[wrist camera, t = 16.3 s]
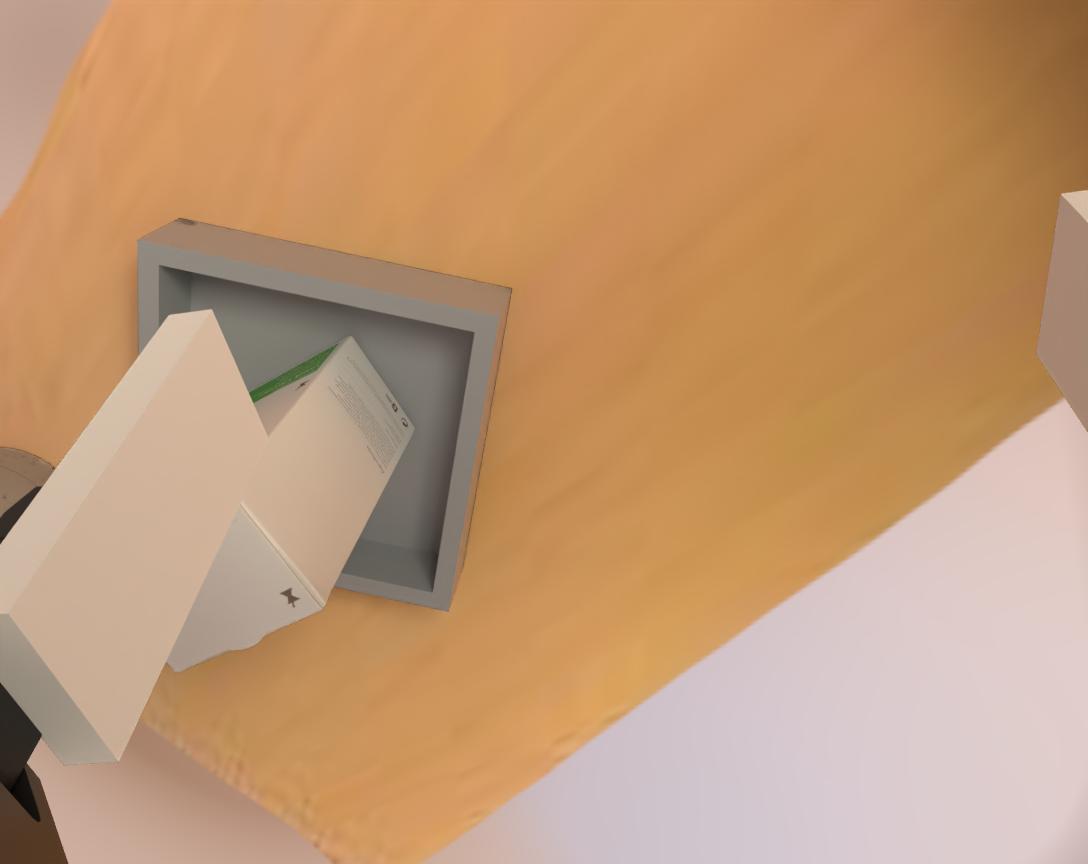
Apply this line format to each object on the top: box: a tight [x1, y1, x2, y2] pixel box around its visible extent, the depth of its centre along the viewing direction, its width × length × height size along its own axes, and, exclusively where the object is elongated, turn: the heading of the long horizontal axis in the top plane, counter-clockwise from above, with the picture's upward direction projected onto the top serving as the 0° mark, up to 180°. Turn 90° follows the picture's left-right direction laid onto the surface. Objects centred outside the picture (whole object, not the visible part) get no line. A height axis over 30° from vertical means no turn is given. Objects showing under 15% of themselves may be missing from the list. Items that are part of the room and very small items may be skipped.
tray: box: [138, 218, 512, 612], centre depth 49 cm, size 17×17×4 cm
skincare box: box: [166, 336, 415, 673], centre depth 44 cm, size 8×7×16 cm
